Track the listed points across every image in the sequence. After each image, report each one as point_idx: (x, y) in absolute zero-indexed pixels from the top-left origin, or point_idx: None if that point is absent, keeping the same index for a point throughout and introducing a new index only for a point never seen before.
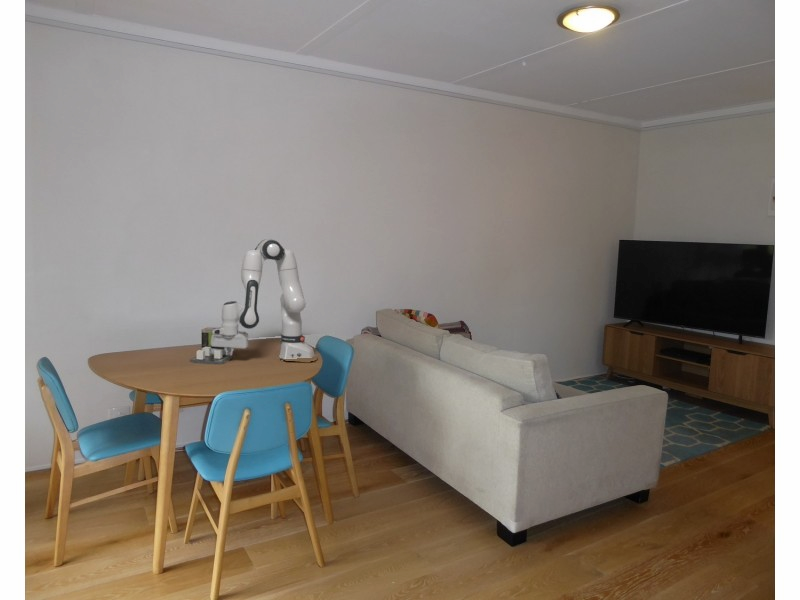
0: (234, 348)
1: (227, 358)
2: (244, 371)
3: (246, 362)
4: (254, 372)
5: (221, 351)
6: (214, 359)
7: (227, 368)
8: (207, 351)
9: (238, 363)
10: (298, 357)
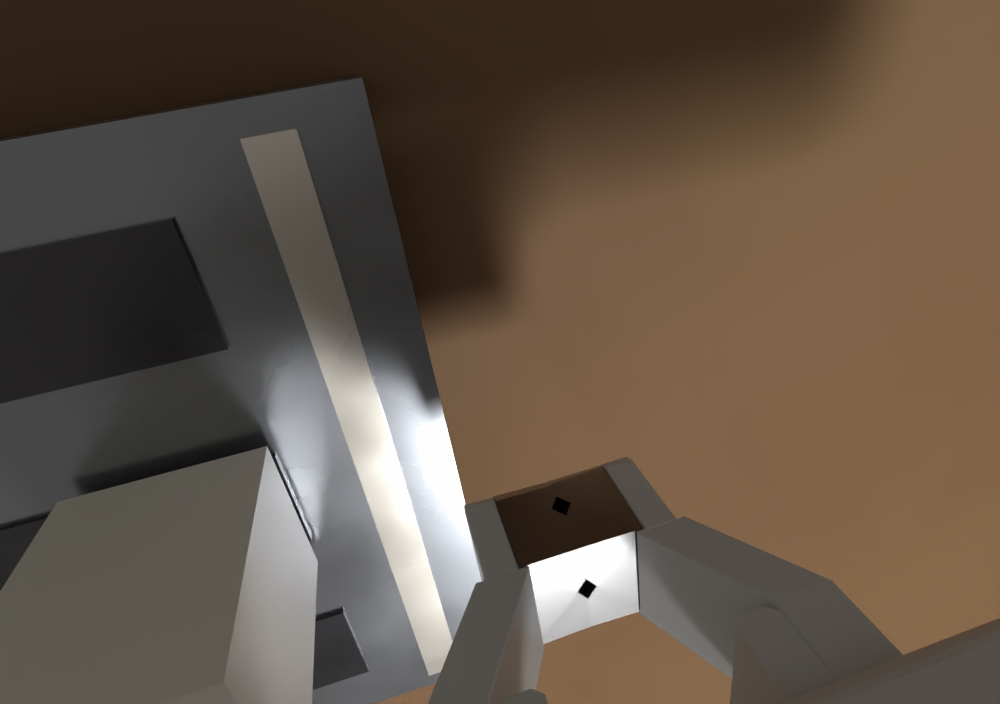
0: (852, 625)
1: (433, 409)
2: None
3: (852, 267)
4: None
5: (275, 694)
6: None
7: (663, 690)
8: None
9: (723, 411)
10: None
